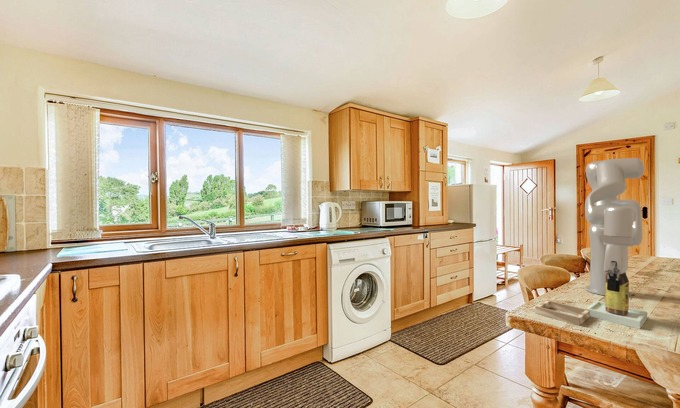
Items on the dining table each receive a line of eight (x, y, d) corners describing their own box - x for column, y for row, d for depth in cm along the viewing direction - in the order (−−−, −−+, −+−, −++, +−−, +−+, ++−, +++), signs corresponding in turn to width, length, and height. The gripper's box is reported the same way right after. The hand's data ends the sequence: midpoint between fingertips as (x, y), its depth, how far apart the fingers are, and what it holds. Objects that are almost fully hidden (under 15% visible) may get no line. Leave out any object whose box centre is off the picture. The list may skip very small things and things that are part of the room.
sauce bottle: (630, 317, 101) (632, 260, 101) (606, 313, 105) (608, 258, 104) (625, 311, 107) (627, 257, 107) (602, 307, 110) (604, 255, 110)
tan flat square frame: (547, 306, 116) (547, 300, 116) (589, 317, 105) (589, 310, 105) (535, 313, 109) (535, 306, 108) (579, 325, 98) (579, 318, 98)
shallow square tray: (596, 306, 116) (596, 300, 115) (647, 318, 104) (647, 311, 104) (585, 315, 107) (585, 308, 107) (639, 329, 96) (639, 321, 96)
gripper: (609, 237, 113) (608, 282, 114) (597, 241, 103) (596, 290, 103) (637, 240, 107) (636, 286, 108) (627, 244, 97) (625, 296, 97)
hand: (616, 288), depth 105 cm, fingers open, 9 cm apart
